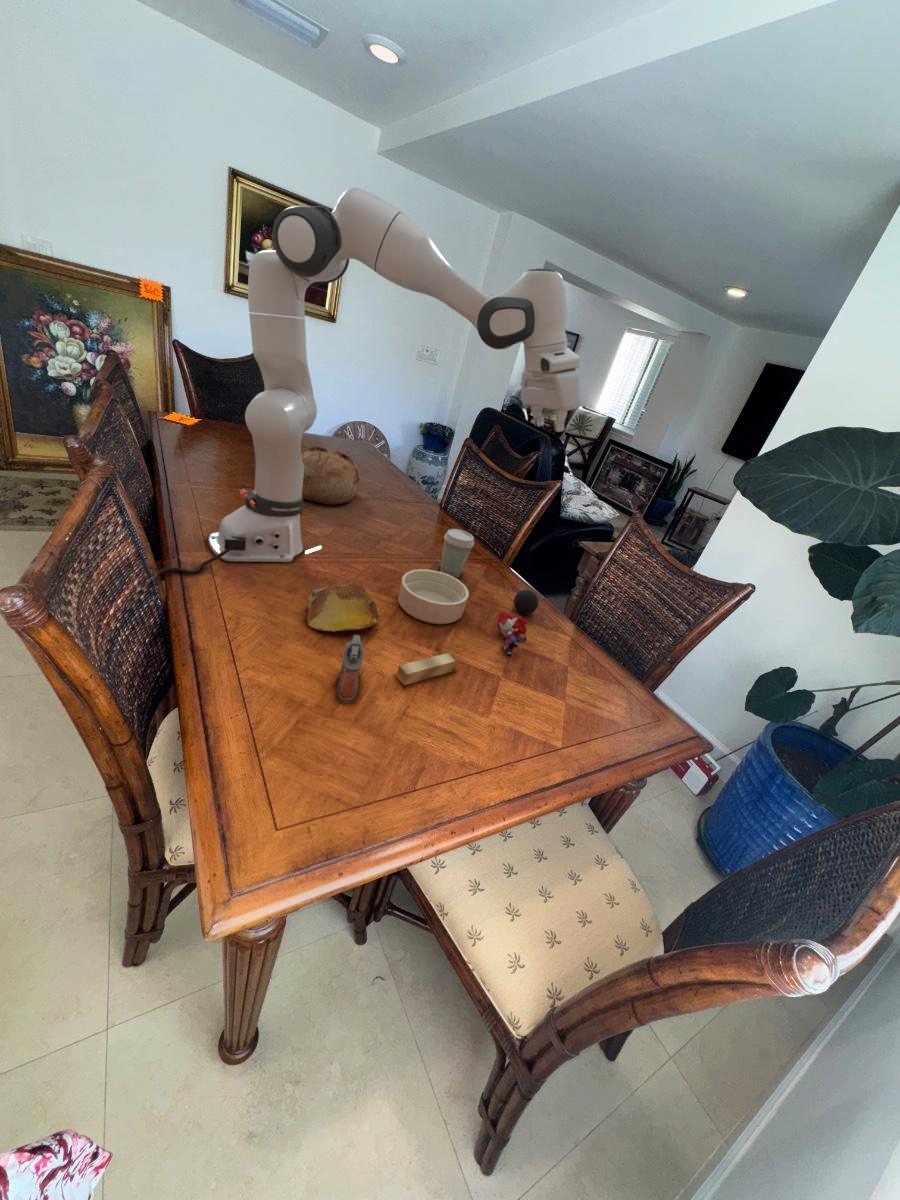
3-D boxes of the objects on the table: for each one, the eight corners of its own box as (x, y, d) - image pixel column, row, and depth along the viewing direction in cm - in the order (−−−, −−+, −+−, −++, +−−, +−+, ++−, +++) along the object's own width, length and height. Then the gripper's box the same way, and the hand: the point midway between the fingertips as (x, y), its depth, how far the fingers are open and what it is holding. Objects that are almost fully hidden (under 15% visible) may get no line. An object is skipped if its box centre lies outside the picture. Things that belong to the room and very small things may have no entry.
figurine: (492, 655, 106) (489, 620, 119) (525, 669, 107) (518, 633, 120) (507, 633, 103) (502, 600, 116) (540, 648, 104) (532, 614, 118)
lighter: (340, 671, 90) (348, 627, 85) (358, 674, 91) (367, 630, 86) (335, 701, 83) (343, 655, 78) (355, 703, 84) (364, 658, 79)
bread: (347, 513, 157) (354, 468, 150) (275, 496, 155) (279, 449, 148) (361, 489, 180) (368, 450, 173) (299, 474, 178) (303, 433, 171)
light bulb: (536, 588, 133) (540, 591, 123) (534, 611, 133) (538, 616, 124) (513, 586, 133) (515, 590, 123) (511, 609, 134) (513, 614, 124)
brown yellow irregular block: (391, 622, 100) (321, 613, 93) (378, 648, 104) (310, 641, 96) (374, 574, 112) (310, 563, 104) (363, 599, 116) (300, 590, 108)
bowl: (421, 631, 108) (427, 608, 105) (384, 593, 118) (389, 572, 116) (475, 619, 118) (482, 599, 116) (437, 586, 129) (442, 566, 126)
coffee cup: (461, 583, 134) (473, 544, 128) (432, 574, 134) (442, 535, 129) (466, 571, 141) (477, 534, 136) (439, 562, 142) (449, 525, 136)
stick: (403, 685, 91) (406, 674, 90) (396, 676, 93) (398, 665, 91) (452, 671, 98) (456, 660, 97) (444, 663, 100) (447, 652, 99)
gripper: (512, 362, 110) (516, 425, 116) (555, 363, 92) (557, 437, 99) (537, 357, 111) (540, 420, 117) (584, 357, 93) (585, 431, 100)
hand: (548, 428), depth 108 cm, fingers open, 8 cm apart
